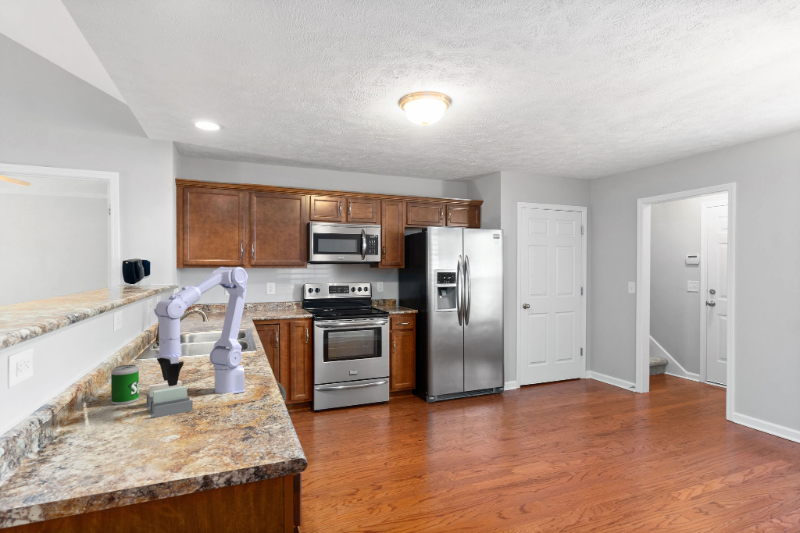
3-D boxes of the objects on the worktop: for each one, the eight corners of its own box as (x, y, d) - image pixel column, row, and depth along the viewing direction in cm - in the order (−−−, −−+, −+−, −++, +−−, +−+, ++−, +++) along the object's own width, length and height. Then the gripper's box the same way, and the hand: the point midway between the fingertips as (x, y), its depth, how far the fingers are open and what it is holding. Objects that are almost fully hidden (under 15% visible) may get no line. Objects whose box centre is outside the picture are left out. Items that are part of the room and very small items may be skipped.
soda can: (125, 408, 132) (125, 370, 132) (105, 406, 134) (105, 369, 134) (144, 400, 140) (144, 364, 140) (125, 399, 141) (125, 363, 141)
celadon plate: (185, 404, 133) (185, 385, 133) (187, 406, 132) (187, 387, 132) (152, 410, 128) (152, 391, 128) (154, 412, 126) (153, 392, 126)
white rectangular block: (180, 398, 139) (180, 380, 139) (181, 400, 138) (181, 381, 138) (148, 404, 134) (148, 385, 134) (149, 406, 132) (149, 386, 132)
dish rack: (182, 399, 141) (182, 388, 141) (194, 412, 128) (194, 400, 128) (144, 406, 134) (144, 394, 134) (152, 421, 122) (152, 408, 122)
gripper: (151, 336, 133) (151, 379, 133) (159, 343, 121) (159, 390, 122) (176, 334, 137) (176, 375, 137) (186, 340, 126) (186, 386, 126)
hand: (170, 382), depth 130 cm, fingers open, 7 cm apart
